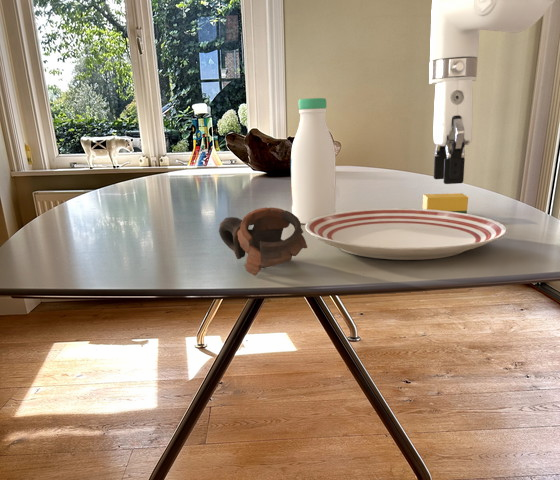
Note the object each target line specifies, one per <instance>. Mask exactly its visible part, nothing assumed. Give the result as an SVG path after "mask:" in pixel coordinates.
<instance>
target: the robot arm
mask: <svg viewBox="0 0 560 480" xmlns="http://www.w3.org/2000/svg"><path fill="white" fill-rule="evenodd" d="M555 2H556V0H432V2H431V21H430V22H431V24H430V51H429V54H430V55H429V77H428V78H429V81H428V84H429V85H435V89H434V90H435V92H434V106H433V107H434V108H433V128H432V129H433V131H432V134H433V138H432V139H433V144H435V150H434V156H433V157H434V158H433V179H434V180H443V184H445V185H454V184H455V185H456V184H463V183H464V177H465V161H466V158H465V157H466V156H465V155H466V151H465V147H466V146H468V145H470V144H471V143H472V140H473V108H474V107H473V104H474V103H473V100H474V99H473V95H474V94H473V82H476V81H477V74H478V58H479V43H480V42H479V41H480V30H481V31H490V32H501V33H508V34H509V33H510V34H518V33H521V32H524V31H526V30H528V29H530V28H531V27H532V26H534V25H535V24H536V23H538V21H540V19H541V18H542V17H543V16H544V15H545V13H547V11H548V10H549V9H550V8H551V7H552V5H553V4H554V3H555Z"/></svg>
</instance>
